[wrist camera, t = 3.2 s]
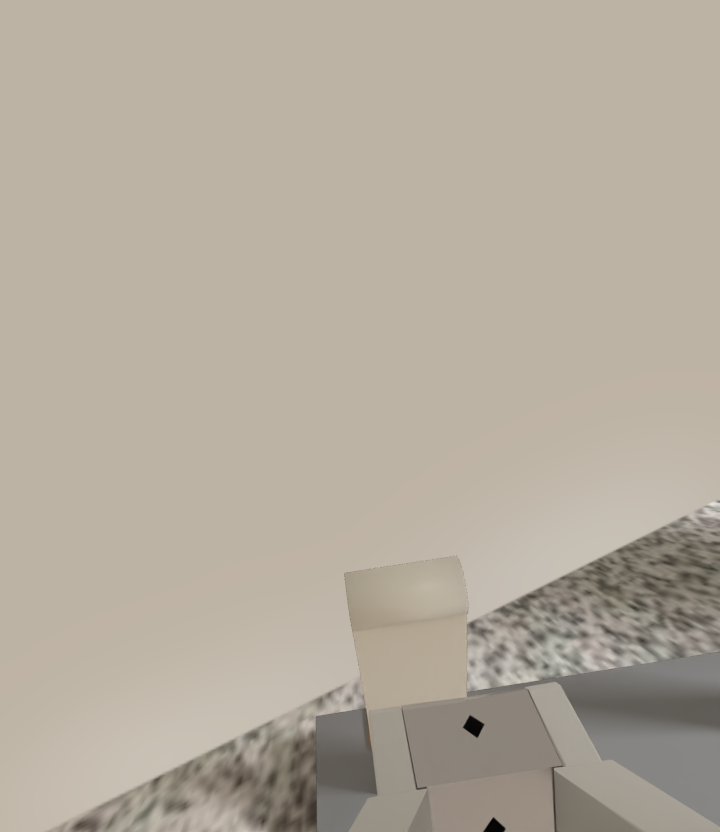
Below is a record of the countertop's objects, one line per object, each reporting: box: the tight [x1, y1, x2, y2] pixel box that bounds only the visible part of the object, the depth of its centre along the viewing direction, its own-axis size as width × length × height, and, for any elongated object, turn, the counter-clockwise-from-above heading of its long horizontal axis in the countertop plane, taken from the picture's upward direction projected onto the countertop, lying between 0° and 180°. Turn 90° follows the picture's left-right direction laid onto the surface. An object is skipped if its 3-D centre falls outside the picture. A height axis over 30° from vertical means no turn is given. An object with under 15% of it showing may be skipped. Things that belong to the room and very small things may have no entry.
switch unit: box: [316, 652, 720, 832], centre depth 32 cm, size 28×10×3 cm, turn 94°
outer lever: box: [344, 556, 468, 722], centre depth 27 cm, size 4×2×14 cm, turn 94°
